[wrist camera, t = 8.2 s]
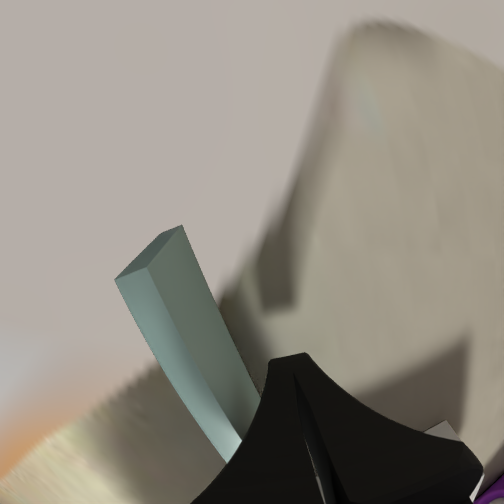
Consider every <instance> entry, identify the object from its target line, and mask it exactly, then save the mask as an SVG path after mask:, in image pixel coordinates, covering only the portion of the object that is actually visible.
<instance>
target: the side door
mask: <svg viewBox="0 0 504 504" xmlns="http://www.w3.org/2000/svg"><path fill="white" fill-rule="evenodd" d="M115 282H116V284H117V286H118V288H119V290H120V292H121V294H122V296H123V298H124V300H125V302H126V304H127V306H128V308H129V310H130V312H131V314H132V316H133V318H134V320H135V322H136V323H137V325H138V327H139V329H140V331H141V333H142V334H143V336H144V338H145V340H146V342H147V343H148V345H149V347H150V348H151V350H152V352H153V354H154V355H155V357H156V359H157V361H158V362H159V364H160V366H161V367H162V369H163V371H164V372H165V374H166V376H167V377H168V379H169V380H170V382H171V384H172V385H173V387H174V388H175V390H176V391H177V393H178V395H179V396H180V398H181V399H182V401H183V402H184V404H185V405H186V407H187V408H188V410H189V411H190V413H191V414H192V416H193V417H194V419H195V420H196V422H197V423H198V425H199V426H200V427H201V429H202V430H203V432H204V433H205V434H206V436H207V437H208V439H209V440H210V441H211V443H212V444H213V445H214V447H215V448H216V450H217V451H218V452H219V454H220V455H221V456H222V458H223V459H224V460H225V461H226V463H228V462H229V460H230V459H231V457H232V456H233V454H234V453H235V451H236V450H237V448H238V447H239V445H240V443H241V442H242V440H243V438H244V436H245V435H246V433H247V431H248V429H249V427H250V425H251V423H252V420H253V418H254V416H255V413H256V411H257V408H258V406H259V403H260V400H261V398H260V396H259V394H258V392H257V390H256V388H255V386H254V384H253V382H252V380H251V378H250V376H249V374H248V371H247V369H246V367H245V365H244V363H243V361H242V359H241V357H240V355H239V353H238V351H237V348H236V346H235V344H234V342H233V340H232V338H231V336H230V333H229V331H228V329H227V327H226V325H225V323H224V320H223V318H222V316H221V314H220V312H219V309H218V307H217V305H216V303H215V301H214V298H213V296H212V294H211V292H210V289H209V287H208V285H207V283H206V280H205V278H204V276H203V273H202V271H201V269H200V266H199V264H198V262H197V259H196V257H195V255H194V252H193V250H192V248H191V245H190V243H189V240H188V238H187V236H186V233H185V231H184V228H183V226H182V225H180V226H178V227H175V228H173V229H170V230H168V231H165V232H163V233H161V234H160V235H158V236H157V238H155V240H153V241H152V242H151V243H150V244H149V245H148V246H147V247H146V248H145V249H144V250H143V251H142V252H141V253H140V254H139V255H138V256H137V257H136V258H135V259H134V260H133V261H132V262H131V263H130V264H129V265H128V267H126V268H125V269H124V270H123V271H122V272H121V273H120V274H119V275H118V276H117V278H116V279H115Z"/></svg>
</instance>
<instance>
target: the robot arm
mask: <svg viewBox="0 0 504 504" xmlns="http://www.w3.org/2000/svg"><path fill="white" fill-rule="evenodd" d="M304 437H305V438H304ZM305 439H306V441H305ZM306 442H307V445H308V448H309V451H310V453H311V456H312V459H313V462H314V464H315V467H316V470H317V473H318V476H319V479H320V483H321V487H322V491H323V495H324V499H325V504H473V502H472V501H471V499H470V496H471V494H472V493H473V491H474V489H475V488H476V486H477V485H478V483H479V481H480V479H481V477H482V475H483V466H482V464H481V463H480V461H479V460H478V459H477V457H476V456H475V455H474V453H473V452H472V451H471V450H470V449H469V448H468V447H467V446H466V445H465V444H464V443H463V442H462V441H456V440H452V439H447V438H442V437H438V436H433V435H430V434H426V433H423V432H420V431H417V430H414V429H411V428H409V427H406V426H404V425H402V424H399V423H397V422H395V421H392V420H390V419H388V418H386V417H384V416H383V415H381V414H379V413H377V412H375V411H374V410H372V409H370V408H369V407H367V406H365V405H364V404H362V403H361V402H359V401H358V400H357V399H355V398H354V397H352V396H351V395H350V394H349V393H347V392H346V391H345V390H343V389H342V388H341V387H340V386H339V385H337V384H336V383H335V382H334V381H333V380H332V379H331V378H330V377H329V376H328V375H326V374H325V373H324V372H323V371H322V369H321V368H320V367H319V366H318V365H317V364H316V363H315V362H314V361H313V360H312V358H311V357H310V356H309V354H307V353H305V352H304V353H299V354H295V355H290V356H285V357H281V358H276V359H271V360H270V361H269V362H268V373H267V378H266V383H265V387H264V390H263V394H262V397H261V400H260V403H259V406H258V408H257V411H256V413H255V416H254V418H253V420H252V423H251V425H250V427H249V429H248V431H247V433H246V435H245V436H244V438H243V440H242V442H241V443H240V445H239V447H238V448H237V450H236V451H235V453H234V454H233V456H232V457H231V459H230V460H229V462H228V463H227V464H226V466H225V467H224V468H223V469H222V471H221V472H220V473H219V474H218V475H217V477H216V478H215V479H214V480H213V481H212V483H211V484H210V485H209V486H208V487H207V488H206V489H205V490H204V491H203V492H202V493H201V494H200V495H199V496H198V497H197V498H196V499H195V500H193V501H192V502H191V503H190V504H324V501H323V498H322V495H321V492H320V489H319V485H318V482H317V479H316V476H315V472H314V469H313V466H312V462H311V459H310V456H309V452H308V449H307V445H306Z"/></svg>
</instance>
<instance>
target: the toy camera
mask: <svg viewBox="0 0 504 504" xmlns="http://www.w3.org/2000/svg"><path fill="white" fill-rule="evenodd" d="M473 504H504V475H503V476H502V477H500V478H499V479H498V480H497V481H496V482H495V483H494V484H493V485H492V486H491V487H490V488H489V489H488V490H487V491H486V492H484V493H483V494H482V495H481V496H480V497H479V498H478V499H477V500H476V501H474V502H473Z"/></svg>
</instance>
